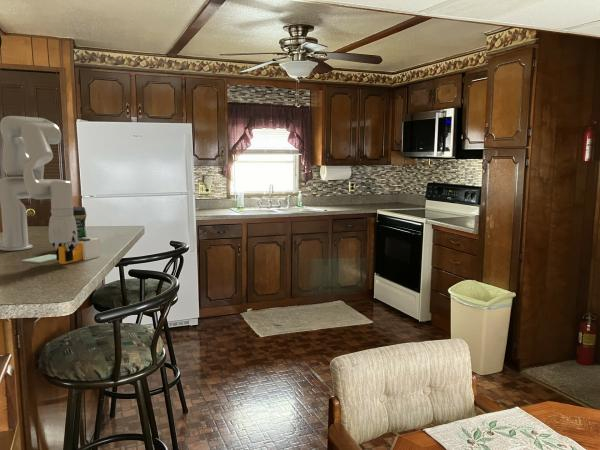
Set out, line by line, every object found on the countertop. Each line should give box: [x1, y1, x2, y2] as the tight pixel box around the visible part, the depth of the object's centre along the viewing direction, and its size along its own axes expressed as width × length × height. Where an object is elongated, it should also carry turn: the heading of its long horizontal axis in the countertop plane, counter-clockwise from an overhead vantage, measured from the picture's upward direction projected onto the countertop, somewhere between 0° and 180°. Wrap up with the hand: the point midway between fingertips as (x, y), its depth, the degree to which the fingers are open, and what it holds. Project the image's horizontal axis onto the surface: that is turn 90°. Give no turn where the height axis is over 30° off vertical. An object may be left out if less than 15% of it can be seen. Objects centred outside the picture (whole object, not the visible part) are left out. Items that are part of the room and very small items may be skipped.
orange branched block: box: [58, 242, 83, 265], centre depth 196 cm, size 12×4×6 cm, turn 161°
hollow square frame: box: [69, 237, 101, 261], centre depth 202 cm, size 8×8×8 cm
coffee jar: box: [63, 206, 88, 246], centre depth 224 cm, size 10×8×19 cm
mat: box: [21, 254, 57, 264], centre depth 198 cm, size 9×13×1 cm
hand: (64, 259), depth 192 cm, fingers closed on orange branched block, 3 cm apart
